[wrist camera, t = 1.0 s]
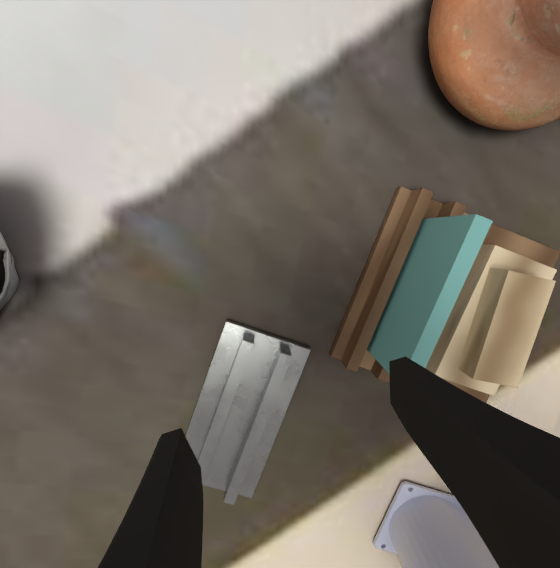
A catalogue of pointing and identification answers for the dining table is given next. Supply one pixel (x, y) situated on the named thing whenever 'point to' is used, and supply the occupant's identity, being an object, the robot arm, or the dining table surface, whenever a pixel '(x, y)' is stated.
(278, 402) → the metal slot stand
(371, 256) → the walnut rack
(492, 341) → the upper pine offcut
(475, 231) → the teal board
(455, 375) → the lower birch offcut
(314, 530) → the dining table surface
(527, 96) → the ceramic jug
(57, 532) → the dining table surface
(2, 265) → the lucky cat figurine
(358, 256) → the dining table surface
